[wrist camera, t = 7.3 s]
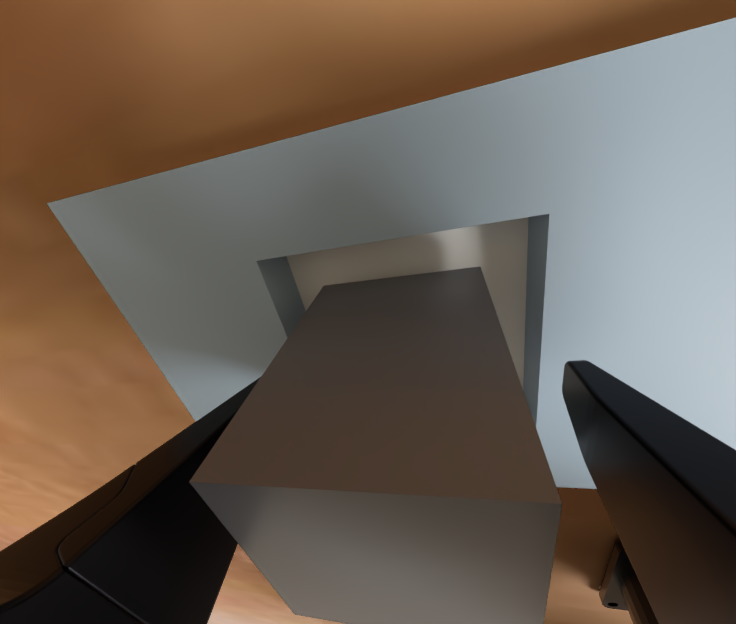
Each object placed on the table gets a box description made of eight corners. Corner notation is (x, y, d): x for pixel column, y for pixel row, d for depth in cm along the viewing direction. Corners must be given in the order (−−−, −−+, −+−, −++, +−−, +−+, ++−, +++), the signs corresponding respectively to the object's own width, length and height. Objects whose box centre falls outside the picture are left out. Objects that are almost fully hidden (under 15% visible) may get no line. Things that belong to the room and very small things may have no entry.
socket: (685, 438, 11) (730, 494, 9) (252, 435, 16) (230, 472, 14) (864, -9, 6) (1056, -69, 4) (111, 190, 10) (46, 203, 8)
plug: (481, 374, 11) (538, 657, 5) (361, 379, 12) (294, 614, 6) (477, 255, 9) (562, 503, 3) (331, 274, 10) (189, 481, 4)
